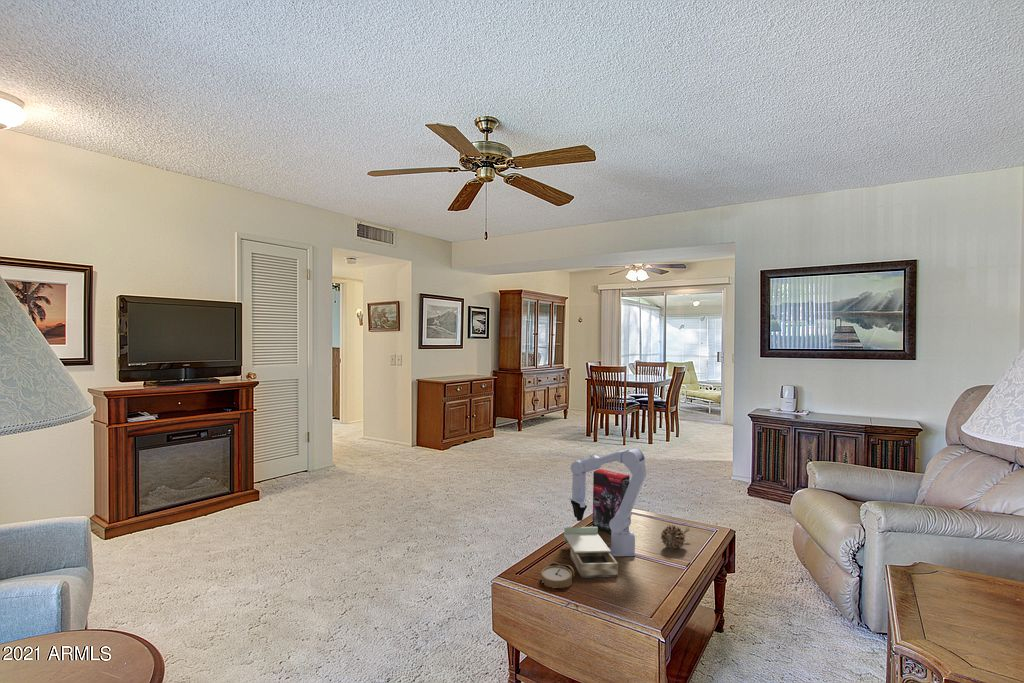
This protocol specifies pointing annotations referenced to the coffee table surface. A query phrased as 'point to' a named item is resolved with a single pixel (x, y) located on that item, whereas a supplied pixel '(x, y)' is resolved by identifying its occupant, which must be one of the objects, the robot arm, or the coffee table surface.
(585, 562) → the case
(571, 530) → the lid
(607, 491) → the graphics card box
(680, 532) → the pine cone
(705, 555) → the coffee table surface
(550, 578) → the alarm clock
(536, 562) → the coffee table surface
